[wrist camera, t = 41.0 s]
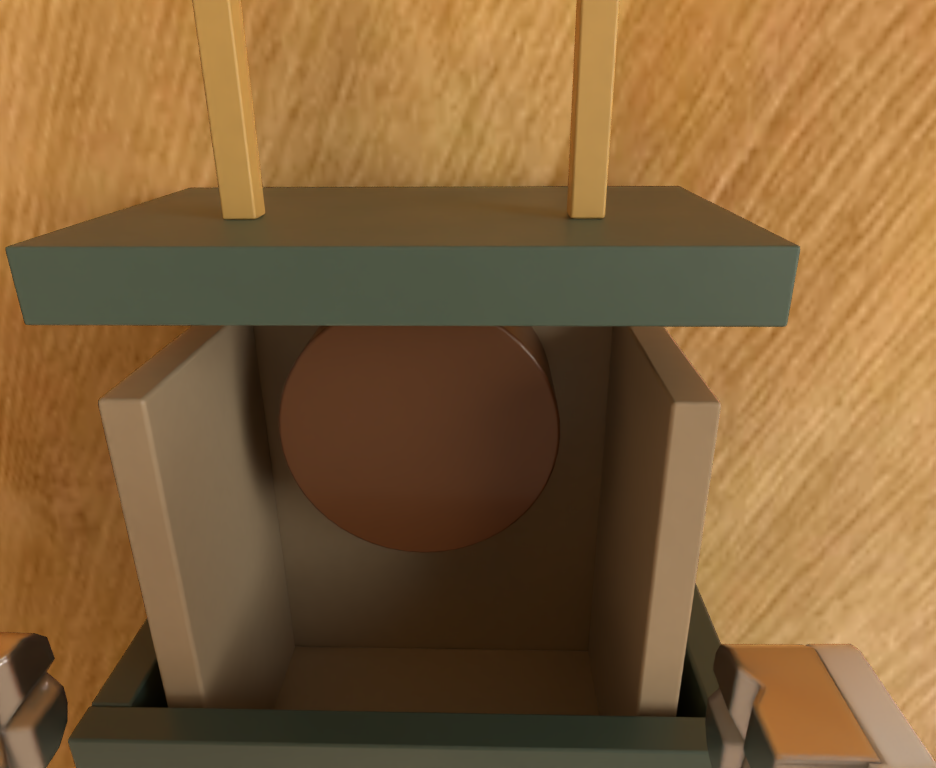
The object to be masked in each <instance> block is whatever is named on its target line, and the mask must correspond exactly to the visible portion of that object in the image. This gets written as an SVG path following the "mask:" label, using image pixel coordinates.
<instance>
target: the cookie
mask: <svg viewBox="0 0 936 768" xmlns="http://www.w3.org/2000/svg"><path fill="white" fill-rule="evenodd" d="M278 421H279V436H280V441H281V446H282V451H283V454H284V457H285V460H286V462H287V465H288V468H289V470H290V472H291V474H292V476H293V478H294V480H295V482H296V483H297V485H298V486H299V488H300V489H301V491H302V492H303V494H304V495H305V496H306V498H307V499H308V500H309V501H310V502H311V503H312V504H313V506H314V507H315V508H316V509H317V510H318V511H320V512H321V513H322V514H323V515H324V516H325V517H326V518H327V519H328V520H330V521H331V522H333V523H334V524H336V525H337V526H338V527H340V528H341V529H343V530H345V531H346V532H348V533H350V534H352V535H354V536H355V537H357V538H360V539H362V540H365V541H367V542H369V543H372V544H375V545H378V546H382V547H385V548H389V549H394V550H399V551H405V552H418V553H430V552H444V551H450V550H457V549H460V548H464V547H468V546H472V545H474V544H477V543H479V542H482V541H484V540H487V539H489V538H491V537H493V536H495V535H497V534H498V533H500V532H502V531H504V530H505V529H506V528H508V527H509V526H511V525H512V524H513V523H515V522H516V521H517V520H518V519H519V518H520V517H522V516H523V515H524V514H525V513H526V512H527V511H528V510H529V509H530V507H531V506H532V505H533V504H534V503H535V501H536V500H537V499H538V498H539V496H540V495H541V493H542V491H543V490H544V488H545V487H546V485H547V483H548V481H549V479H550V477H551V474H552V472H553V470H554V467H555V463H556V460H557V456H558V452H559V444H560V436H561V435H560V416H559V410H558V404H557V399H556V395H555V390H554V385H553V381H552V376H551V372H550V367H549V363H548V360H547V357H546V354H545V351H544V348H543V346H542V344H541V342H540V340H539V338H538V336H537V334H536V332H535V331H534V329H533V328H532V326H319V328H318V329H317V330H316V332H315V333H314V335H313V336H312V337H311V339H310V340H309V342H308V343H307V344H306V346H305V347H304V348H303V350H302V351H301V353H300V354H299V356H298V357H297V359H296V361H295V362H294V364H293V366H292V367H291V369H290V371H289V374H288V376H287V379H286V381H285V383H284V387H283V391H282V395H281V399H280V405H279V416H278Z"/></svg>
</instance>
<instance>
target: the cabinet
mask: <svg viewBox="0 0 936 768" xmlns="http://www.w3.org/2000/svg"><path fill="white" fill-rule="evenodd" d="M720 644H721V643H720V640H719V638H718V636H717V633H716V631H715V628H714V626H713V624H712V621H711V619H710V616H709V614H708V612H707V609H706V607H705V605H704V602H703V600H702V597H701V595H700V593H699V590H698V588H697V585H696V583H695V589H694V596H693V603H692V610H691V616H690V623H689V630H688V637H687V644H686V651H685V658H684V665H683V671H682V678H681V685H680V692H679V699H678V706H677V713H676V717H661V716H606V715H551V714H496V713H441V712H386V711H330V710H275V709H220V708H168V705H167V701H166V696H165V692H164V688H163V683H162V679H161V675H160V670H159V666H158V662H157V657H156V653H155V649H154V644H153V640H152V636H151V631H150V627H149V623H148V618H147V619H146V621H145V622H144V624H143V625H142V627H141V629H140V630H139V632H138V633H137V635H136V636H135V638H134V639H133V641H132V642H131V644H130V645H129V647H128V649H127V650H126V652H125V653H124V655H123V656H122V658H121V659H120V661H119V662H118V664H117V665H116V667H115V669H114V670H113V672H112V673H111V675H110V676H109V678H108V679H107V681H106V682H105V684H104V685H103V687H102V689H101V690H100V692H99V693H98V695H97V696H96V698H95V699H94V701H93V702H92V706H91V707H89V708H88V710H87V711H86V713H85V714H84V716H83V717H82V719H81V720H80V722H79V723H78V725H77V726H76V728H75V729H74V731H73V733H72V734H71V736H70V737H69V739H68V743H69V747H70V750H71V753H72V756H73V759H74V763H75V766H76V768H712V766H711V763H710V758H709V753H708V748H707V743H706V725H705V718H706V710H707V702H708V698H709V697H710V696H711V695H712V694H713V693H714V692H715V691H716V690H717V689H718V688H719V685H718V682H717V680H716V677H715V674H714V672H713V665H714V660H715V654H716V652H717V650H718V648H719V646H720Z"/></svg>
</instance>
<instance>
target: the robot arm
mask: <svg viewBox="0 0 936 768" xmlns="http://www.w3.org/2000/svg"><path fill="white" fill-rule="evenodd" d="M54 659H55V658H54V655H53V652H52V650H51V647H50V644H49V641H48V639H47V637H44V636H41V635H38V634H35V633H11V632H0V768H46V767H47V766H48V764H49V763H50V761H51V759H52V758H53V756H54V755H55V753H56V751H57V750H58V748H59V746H60V743H61V740H62V737H63V734H64V730H65V727H66V724H67V713H68V702H67V698H66V695H65V691H64V687H63V686H62V685H61V684H60V683H59V682H58V681H56V680H55V679H54V678H53V677H52V676H51V675H50V674H48V673H47V670H48V669H49V667H50V665H51V664H52V662H53V660H54ZM713 672H714V674H715V677H716V680H717V682H718V685H719V688H718V689H717V690H716V691H715V692H714V693H713V694H712V695H711V696H710V697H709V698H708V702H707V710H706V718H705V725H706V743H707V748H708V753H709V758H710V763H711V766H712V768H936V762H935V761H934V759H933V758H932V756H931V755H930V753H929V752H928V750H927V749H926V747H925V746H924V744H923V743H922V741H921V740H920V738H919V737H918V736H917V734H916V733H915V731H914V730H913V728H912V727H911V725H910V724H909V722H908V721H907V719H906V718H905V716H904V715H903V713H902V712H901V710H900V709H899V707H898V706H897V704H896V703H895V701H894V700H893V699H892V697H891V696H890V694H889V693H888V691H887V690H886V688H885V687H884V685H883V684H882V682H881V681H880V679H879V678H878V676H877V675H876V673H875V672H874V670H873V669H872V667H871V666H870V664H869V663H868V662H867V660H866V659H865V657H864V656H863V654H862V653H861V651H860V650H859V649H857V648H856V647H854V646H853V645H851V644H807V645H790V644H720V646H719V648H718V650H717V652H716V654H715V660H714V665H713Z"/></svg>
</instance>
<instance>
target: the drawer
mask: <svg viewBox="0 0 936 768" xmlns="http://www.w3.org/2000/svg"><path fill="white" fill-rule="evenodd" d="M192 2H193V9H194V17H195V24H196V31H197V38H198V45H199V52H200V59H201V67H202V74H203V81H204V88H205V95H206V102H207V109H208V117H209V124H210V131H211V138H212V145H213V152H214V160H215V167H216V174H217V181H218V188H188V189H185V190H182V191H179V192H176V193H172V194H169V195H166V196H163V197H160V198H157V199H154V200H151V201H148V202H144V203H141V204H138V205H135V206H132V207H129V208H126V209H123V210H119V211H116V212H113V213H110V214H107V215H104V216H101V217H98V218H95V219H91V220H88V221H85V222H82V223H79V224H76V225H73V226H70V227H66V228H63V229H60V230H57V231H54V232H51V233H48V234H45V235H42V236H38V237H35V238H32V239H29V240H26V241H23V242H20V243H17V244H14V245H10V246H8V247H6V254H7V258H8V262H9V266H10V269H11V273H12V277H13V281H14V285H15V288H16V292H17V296H18V300H19V304H20V307H21V311H22V315H23V319H24V323H25V324H26V325H192V326H191V327H190V328H189V329H187V330H186V331H185V332H184V333H182V334H181V335H180V336H178V337H177V338H176V339H175V340H173V341H172V342H171V343H170V344H168V345H167V346H166V347H164V348H163V349H162V350H161V351H159V352H158V353H157V354H156V355H154V356H153V357H152V358H150V359H149V360H148V361H147V362H145V363H144V364H143V365H142V366H140V367H139V368H138V369H136V370H135V371H134V372H133V373H131V374H130V375H129V376H128V377H126V378H125V379H124V380H123V381H121V382H120V383H119V384H117V385H116V386H115V387H114V388H112V389H111V390H110V391H109V392H107V393H106V394H105V395H103V396H102V397H101V398H100V399H99V400H98V406H99V411H100V415H101V419H102V424H103V428H104V432H105V437H106V441H107V445H108V450H109V454H110V458H111V463H112V467H113V471H114V476H115V480H116V484H117V488H118V493H119V497H120V501H121V506H122V510H123V514H124V519H125V523H126V527H127V532H128V536H129V540H130V545H131V549H132V553H133V558H134V562H135V566H136V571H137V575H138V579H139V584H140V588H141V592H142V597H143V601H144V605H145V610H146V614H147V618H148V623H149V627H150V631H151V636H152V640H153V644H154V649H155V653H156V657H157V662H158V666H159V670H160V675H161V679H162V683H163V688H164V692H165V696H166V701H167V705H168V708H220V709H275V710H330V711H386V712H441V713H496V714H551V715H606V716H661V717H676V713H677V706H678V699H679V692H680V685H681V678H682V671H683V665H684V658H685V651H686V644H687V637H688V630H689V623H690V616H691V610H692V603H693V596H694V589H695V582H696V575H697V568H698V562H699V555H700V548H701V541H702V534H703V527H704V520H705V513H706V507H707V500H708V493H709V486H710V479H711V472H712V465H713V459H714V452H715V445H716V438H717V431H718V424H719V417H720V410H721V403H720V401H719V400H718V399H717V397H716V396H715V395H714V393H713V392H712V391H711V389H710V388H709V387H708V385H707V384H706V383H705V381H704V380H703V378H702V377H701V376H700V374H699V373H698V372H697V370H696V369H695V368H694V366H693V365H692V364H691V362H690V361H689V360H688V358H687V357H686V356H685V354H684V353H683V352H682V350H681V349H680V348H679V346H678V345H677V343H676V342H675V341H674V339H673V338H672V337H671V335H670V334H669V333H668V331H667V330H666V329H665V327H784V326H786V325H787V321H788V316H789V310H790V304H791V299H792V293H793V287H794V282H795V276H796V270H797V265H798V259H799V253H800V246H798V245H796V244H794V243H792V242H790V241H788V240H786V239H784V238H782V237H780V236H778V235H776V234H774V233H772V232H770V231H768V230H766V229H764V228H762V227H760V226H758V225H756V224H754V223H752V222H750V221H748V220H746V219H744V218H742V217H740V216H738V215H736V214H734V213H732V212H730V211H728V210H726V209H724V208H722V207H720V206H718V205H716V204H714V203H712V202H710V201H708V200H706V199H704V198H702V197H700V196H698V195H696V194H694V193H692V192H690V191H688V190H686V189H684V188H682V187H679V186H607V179H608V165H609V150H610V135H611V120H612V105H613V91H614V76H615V61H616V46H617V31H618V17H619V2H620V0H577V6H576V27H575V48H574V70H573V91H572V112H571V134H570V155H569V176H568V186H543V187H262V180H261V171H260V162H259V154H258V145H257V137H256V128H255V119H254V111H253V102H252V94H251V85H250V76H249V68H248V59H247V51H246V42H245V33H244V25H243V16H242V8H241V0H192ZM319 326H532V328H533V329H534V331H535V332H536V334H537V336H538V338H539V340H540V342H541V344H542V346H543V348H544V351H545V354H546V357H547V360H548V363H549V367H550V372H551V376H552V381H553V385H554V390H555V395H556V399H557V404H558V410H559V416H560V435H561V436H560V444H559V452H558V456H557V460H556V463H555V467H554V470H553V472H552V474H551V477H550V479H549V481H548V483H547V485H546V487H545V488H544V490H543V491H542V493H541V495H540V496H539V498H538V499H537V500H536V501H535V503H534V504H533V505H532V506H531V507H530V509H529V510H528V511H527V512H526V513H525V514H524V515H523V516H522V517H520V518H519V519H518V520H517V521H516V522H515V523H513V524H512V525H511V526H509V527H508V528H506V529H505V530H504V531H502V532H500V533H498V534H497V535H495V536H493V537H491V538H489V539H487V540H484V541H482V542H479V543H477V544H474V545H472V546H468V547H464V548H460V549H457V550H450V551H444V552H430V553H418V552H405V551H399V550H394V549H389V548H385V547H382V546H378V545H375V544H372V543H369V542H367V541H365V540H362V539H360V538H357V537H355V536H354V535H352V534H350V533H348V532H346V531H345V530H343V529H341V528H340V527H338V526H337V525H336V524H334V523H333V522H331V521H330V520H328V519H327V518H326V517H325V516H324V515H323V514H322V513H321V512H320V511H318V510H317V509H316V508H315V507H314V506H313V504H312V503H311V502H310V501H309V500H308V499H307V498H306V496H305V495H304V494H303V492H302V491H301V489H300V488H299V486H298V485H297V483H296V482H295V480H294V478H293V476H292V474H291V472H290V470H289V468H288V465H287V462H286V460H285V457H284V454H283V451H282V446H281V441H280V436H279V421H278V416H279V405H280V399H281V395H282V391H283V387H284V383H285V381H286V379H287V376H288V374H289V371H290V369H291V367H292V366H293V364H294V362H295V361H296V359H297V357H298V356H299V354H300V353H301V351H302V350H303V348H304V347H305V346H306V344H307V343H308V342H309V340H310V339H311V337H312V336H313V335H314V333H315V332H316V330H317V329H318V328H319Z"/></svg>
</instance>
